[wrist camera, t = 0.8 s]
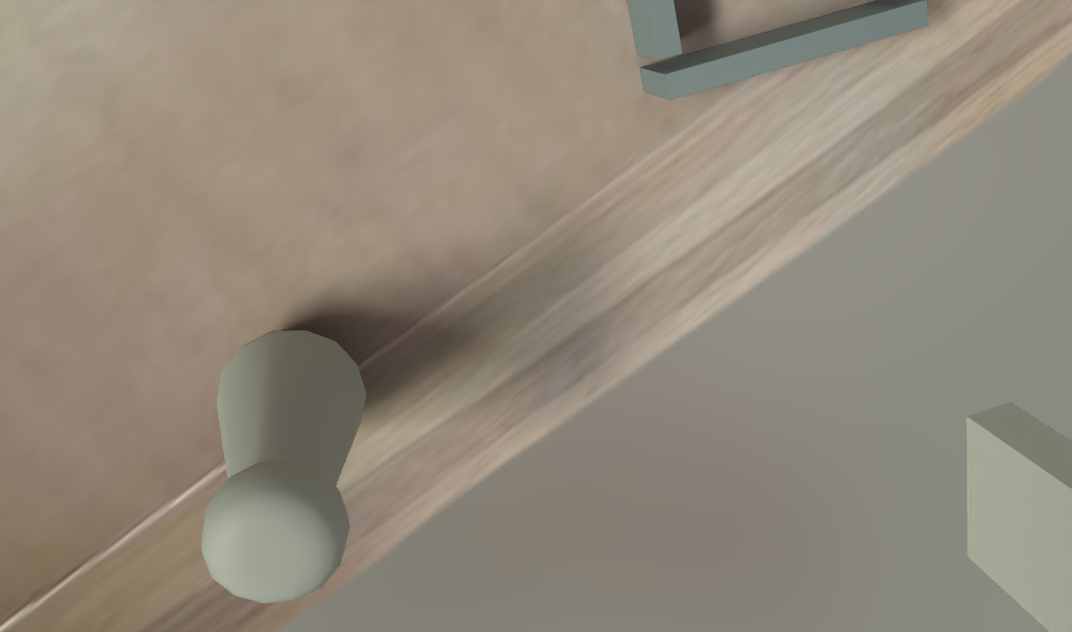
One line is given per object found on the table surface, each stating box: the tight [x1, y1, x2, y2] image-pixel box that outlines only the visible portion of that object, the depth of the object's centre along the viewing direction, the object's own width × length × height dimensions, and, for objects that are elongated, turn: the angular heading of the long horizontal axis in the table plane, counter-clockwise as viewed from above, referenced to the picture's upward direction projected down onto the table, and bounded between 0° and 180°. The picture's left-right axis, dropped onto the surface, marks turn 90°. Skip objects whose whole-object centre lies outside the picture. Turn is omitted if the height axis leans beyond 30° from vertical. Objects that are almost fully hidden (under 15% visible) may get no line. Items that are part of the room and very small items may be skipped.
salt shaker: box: [201, 330, 367, 603], centre depth 31 cm, size 6×6×13 cm
